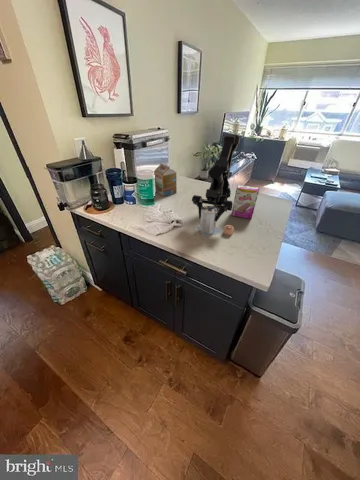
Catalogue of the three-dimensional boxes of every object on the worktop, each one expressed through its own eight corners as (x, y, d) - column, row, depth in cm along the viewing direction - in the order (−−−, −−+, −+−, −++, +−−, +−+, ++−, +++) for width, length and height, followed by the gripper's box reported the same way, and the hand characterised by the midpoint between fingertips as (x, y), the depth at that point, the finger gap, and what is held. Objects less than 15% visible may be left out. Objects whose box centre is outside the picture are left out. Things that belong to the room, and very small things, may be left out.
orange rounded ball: (229, 230, 98) (230, 224, 96) (234, 235, 95) (235, 228, 92) (221, 232, 97) (222, 226, 94) (226, 237, 93) (227, 230, 91)
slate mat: (212, 223, 103) (212, 223, 103) (221, 233, 96) (222, 232, 95) (195, 227, 100) (195, 226, 100) (204, 237, 93) (204, 236, 92)
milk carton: (155, 191, 138) (153, 163, 127) (168, 188, 143) (167, 161, 132) (163, 196, 131) (162, 167, 120) (176, 193, 136) (176, 164, 125)
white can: (210, 225, 101) (212, 204, 94) (217, 232, 95) (220, 211, 89) (197, 228, 98) (198, 207, 92) (204, 235, 93) (206, 214, 86)
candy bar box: (230, 216, 110) (236, 187, 100) (232, 212, 114) (237, 184, 104) (251, 219, 107) (259, 190, 97) (252, 215, 111) (259, 187, 101)
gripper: (193, 178, 89) (184, 210, 87) (235, 183, 83) (227, 218, 81) (198, 189, 99) (190, 218, 98) (235, 194, 94) (227, 225, 92)
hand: (207, 219), depth 92 cm, fingers closed on white can, 7 cm apart
